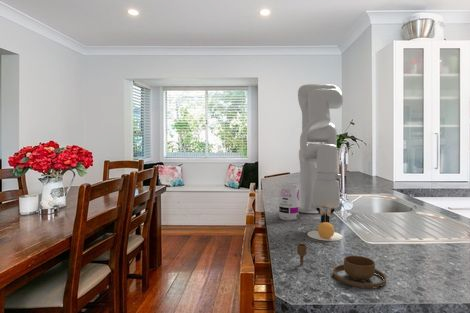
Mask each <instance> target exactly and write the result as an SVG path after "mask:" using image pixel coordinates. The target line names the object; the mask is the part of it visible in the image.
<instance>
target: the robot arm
mask: <svg viewBox="0 0 470 313" xmlns="http://www.w3.org/2000/svg"><path fill="white" fill-rule="evenodd" d="M297 101H298V105H299V107H300V110H301V118H302V119H301V134H300V137H299V150H298V159H299V168H300V169H299V211H298V213H303V214H320V224H321V223H323V222H328V223H330V216H331V215H332V214H333V213H334V212H340V211H341V206H340V204H341V194H340V192H341V191H340V190H341V189H340V182H339V180H337V179H341V178H342V176H341V175H342V174H339V173H338V146H337V143H338V138H337V137H338V136H337V135H338V134H337V133H338V132H337V128H336V126H335V124H333V123H331V114H330V110H331V109H332V110H338V109H341V107H342V105H343V103H344V97H343V93H342V91H341V89H340V88H339V87H338V86H337V85H335V84H330V83H329V84H327V83H326V84H322V83H321V84H320V83H319V84H315V83H314V84H313V83H312V84H311V83H309V84H308V83H307V84H303V85H301V86H300V87H298V90H297ZM324 208H327V211H326V212H324Z"/></svg>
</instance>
